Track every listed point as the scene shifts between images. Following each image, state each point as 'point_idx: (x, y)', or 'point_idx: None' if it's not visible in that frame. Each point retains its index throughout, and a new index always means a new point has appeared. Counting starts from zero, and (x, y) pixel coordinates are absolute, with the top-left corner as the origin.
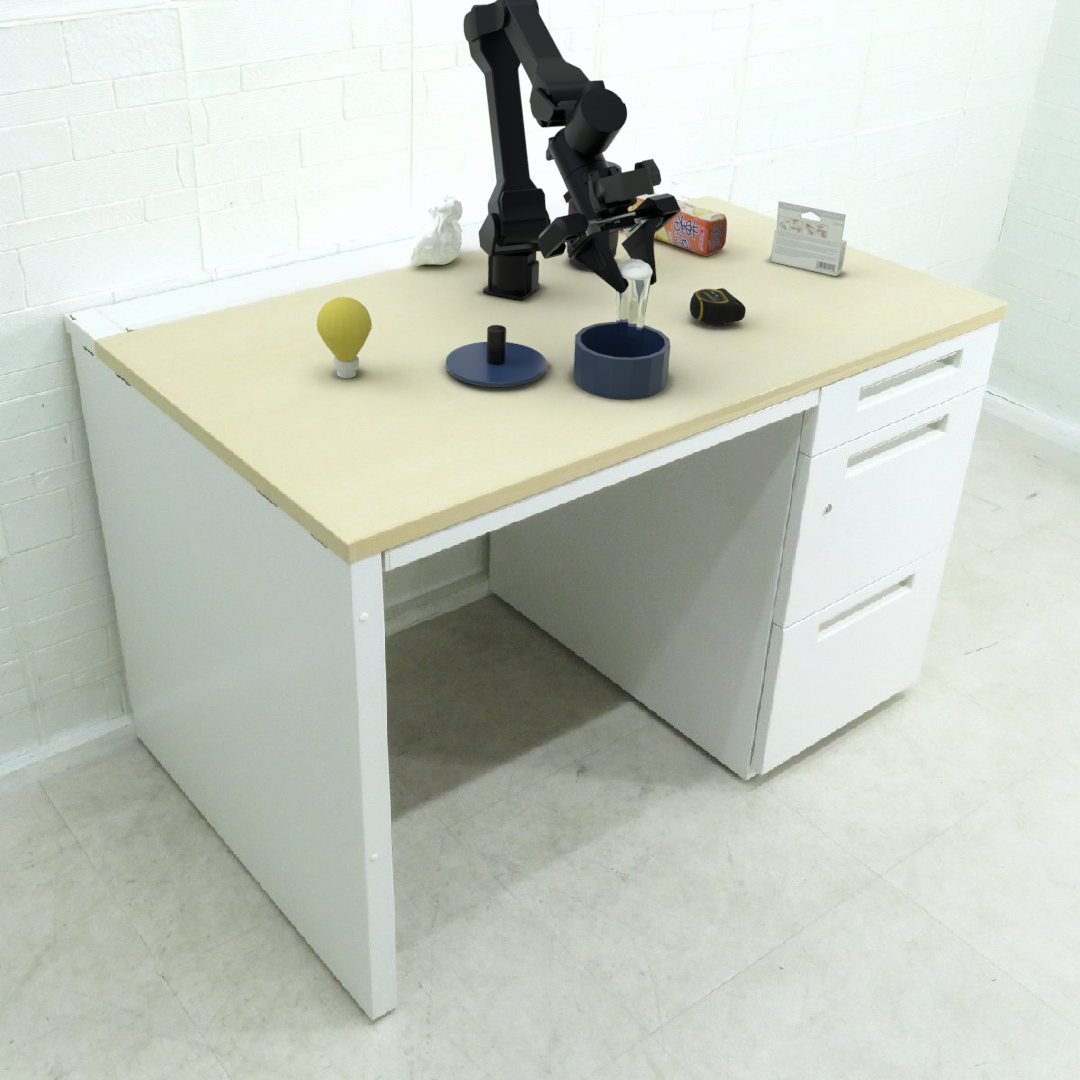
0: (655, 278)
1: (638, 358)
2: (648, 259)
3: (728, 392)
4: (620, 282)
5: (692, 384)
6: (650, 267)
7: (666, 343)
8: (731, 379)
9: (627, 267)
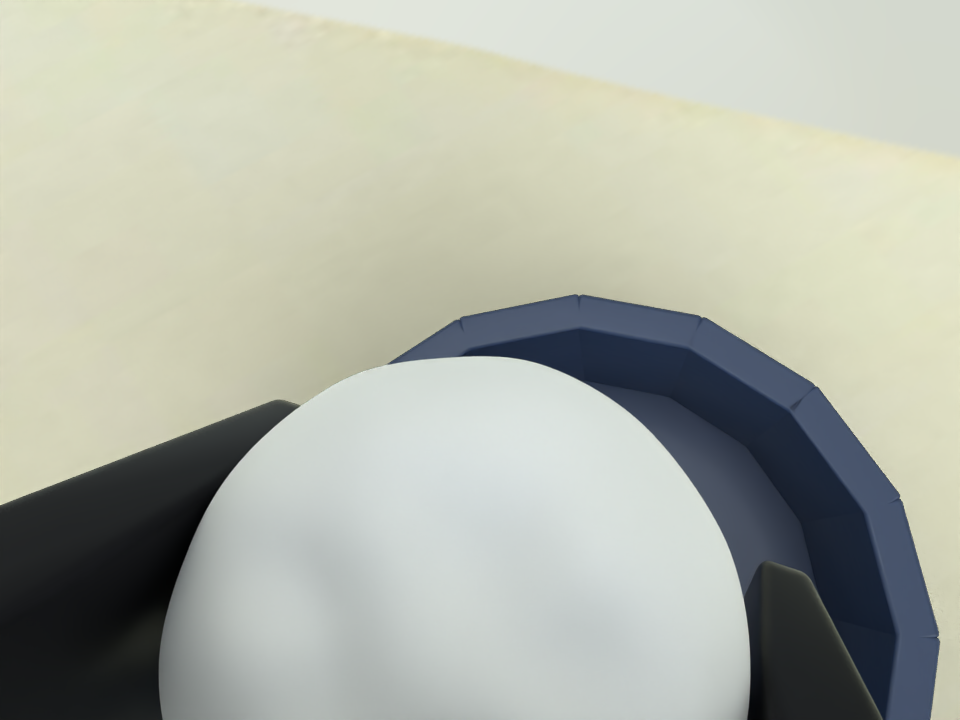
0: (274, 410)
1: (775, 371)
2: (116, 550)
3: (389, 119)
4: (838, 643)
5: (410, 282)
6: (295, 426)
7: (440, 355)
8: (257, 175)
9: (620, 682)
